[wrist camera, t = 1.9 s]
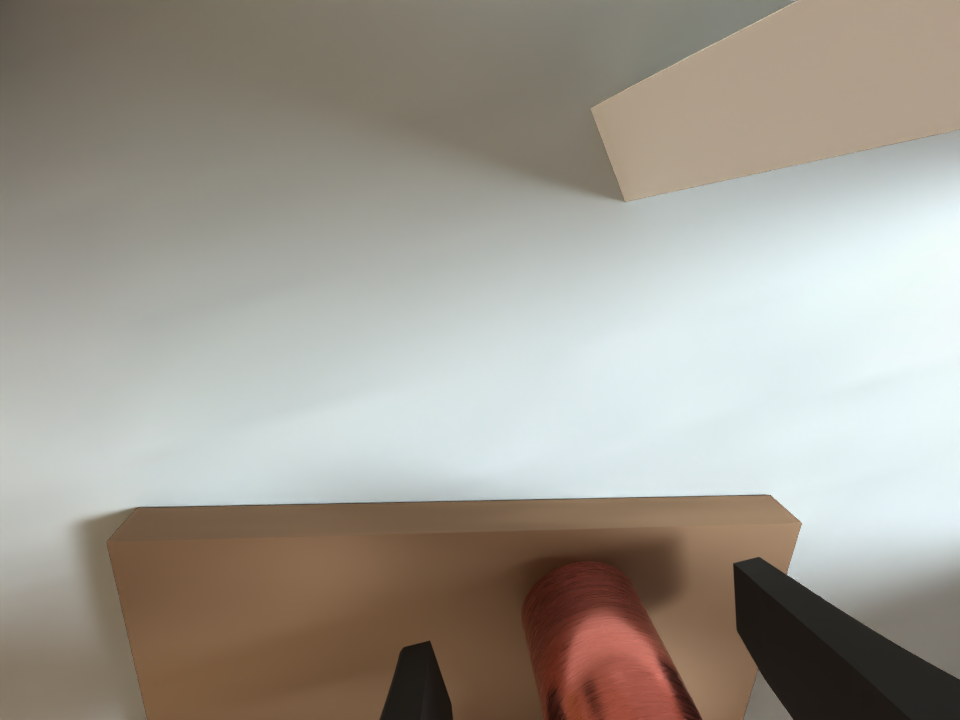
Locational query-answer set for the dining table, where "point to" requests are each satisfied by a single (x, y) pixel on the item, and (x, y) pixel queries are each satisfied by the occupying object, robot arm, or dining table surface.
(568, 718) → the lever
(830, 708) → the robot arm
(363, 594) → the cracker base
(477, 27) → the dining table surface
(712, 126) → the white bracket plate
